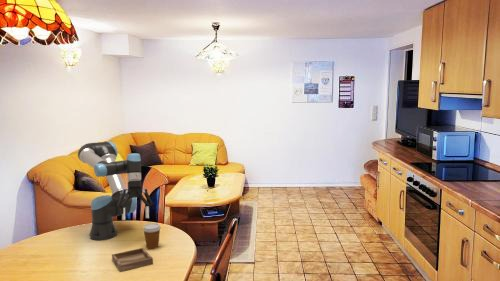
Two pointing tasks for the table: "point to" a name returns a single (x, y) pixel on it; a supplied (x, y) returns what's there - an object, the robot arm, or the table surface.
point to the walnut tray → (132, 259)
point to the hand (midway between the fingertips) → (135, 219)
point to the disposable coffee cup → (152, 235)
